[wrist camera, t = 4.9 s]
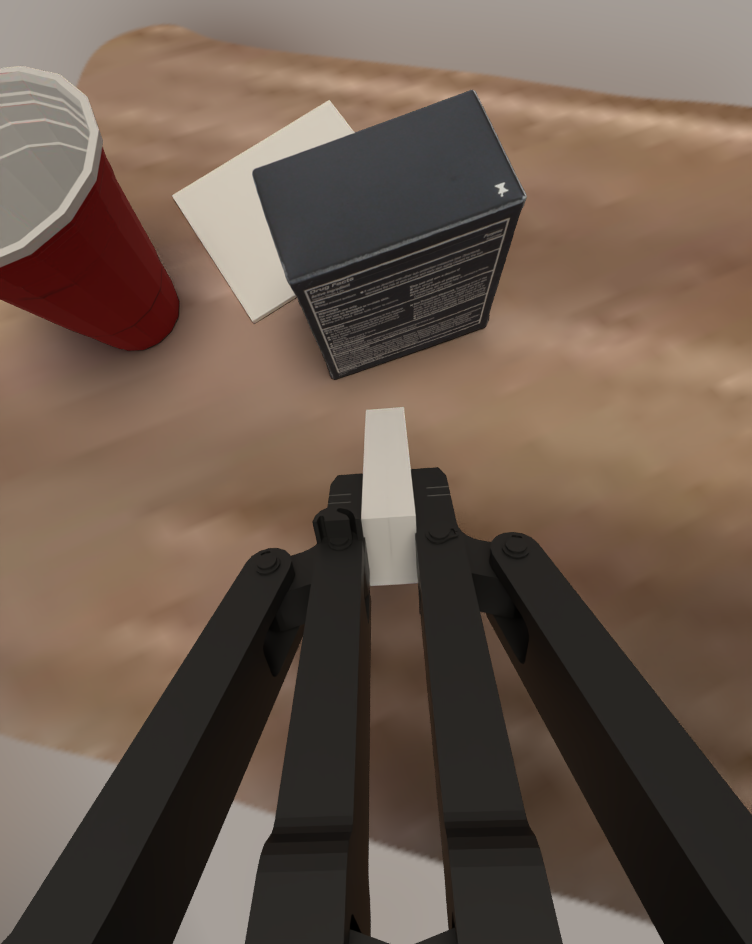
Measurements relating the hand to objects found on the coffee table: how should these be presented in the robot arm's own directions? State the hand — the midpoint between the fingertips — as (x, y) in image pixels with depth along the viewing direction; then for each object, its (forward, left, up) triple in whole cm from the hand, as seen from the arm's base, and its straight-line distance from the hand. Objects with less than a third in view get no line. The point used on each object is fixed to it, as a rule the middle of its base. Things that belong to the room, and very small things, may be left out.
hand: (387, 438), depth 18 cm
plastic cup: (+19, +8, -9) cm, 23 cm away
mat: (+19, -4, -9) cm, 22 cm away
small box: (+9, -6, -9) cm, 14 cm away
